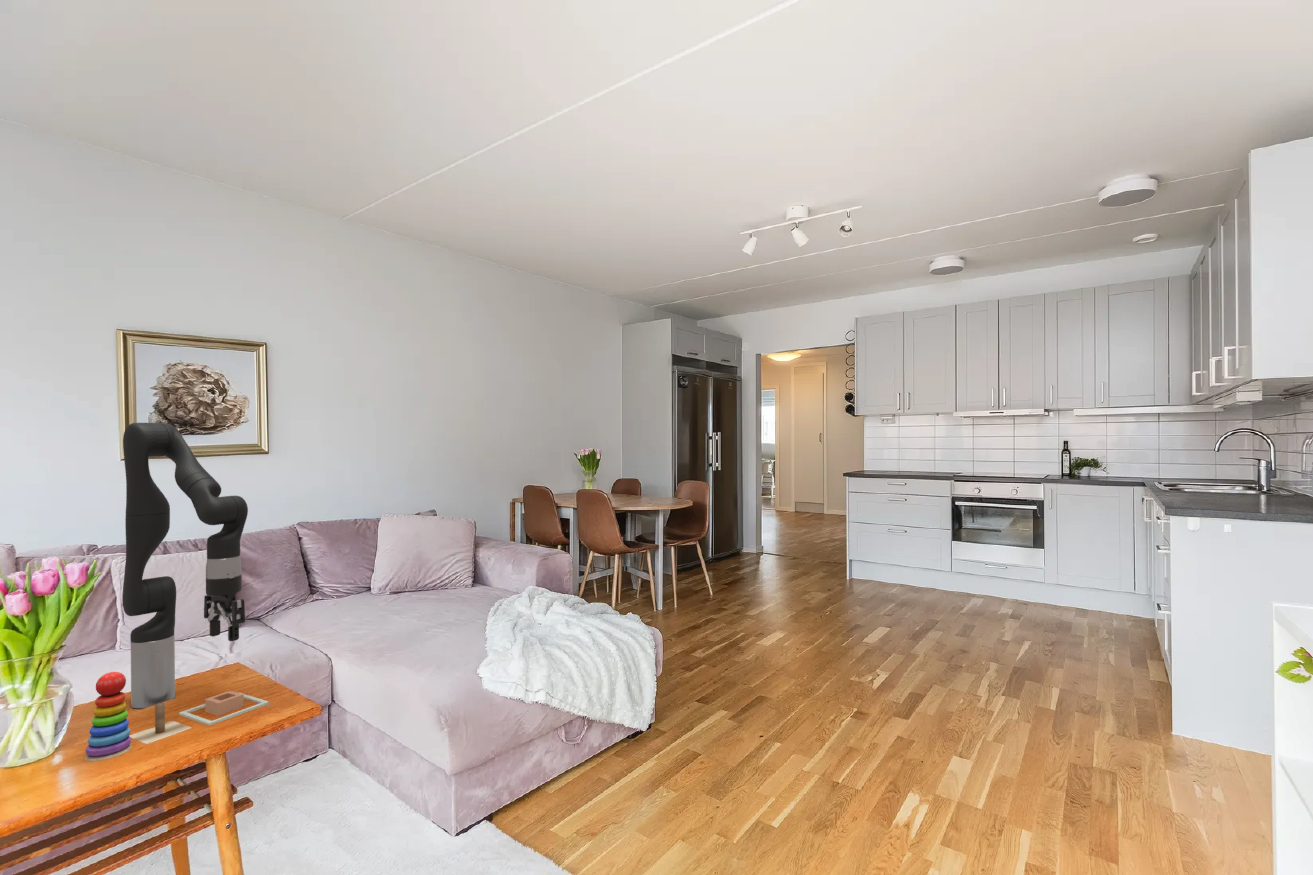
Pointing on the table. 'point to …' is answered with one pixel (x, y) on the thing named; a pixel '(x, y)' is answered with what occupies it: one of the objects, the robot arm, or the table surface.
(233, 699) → the collar
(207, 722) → the tray
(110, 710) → the stacking toy
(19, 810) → the table surface
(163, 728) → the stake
